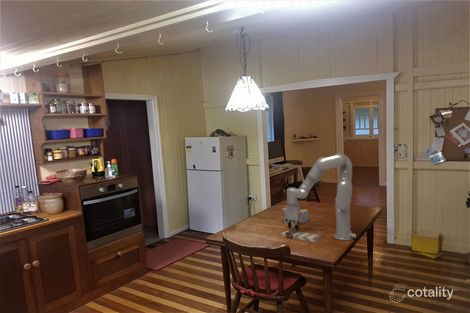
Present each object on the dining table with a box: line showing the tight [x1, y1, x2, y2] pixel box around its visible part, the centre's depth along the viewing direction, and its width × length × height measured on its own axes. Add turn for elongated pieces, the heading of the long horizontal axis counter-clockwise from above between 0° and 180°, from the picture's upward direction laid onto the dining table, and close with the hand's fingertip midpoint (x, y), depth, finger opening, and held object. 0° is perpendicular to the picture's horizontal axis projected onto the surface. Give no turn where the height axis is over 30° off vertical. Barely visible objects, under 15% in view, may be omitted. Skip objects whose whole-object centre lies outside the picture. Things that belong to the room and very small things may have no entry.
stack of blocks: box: [281, 207, 310, 225], centre depth 276 cm, size 21×6×12 cm, turn 101°
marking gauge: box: [286, 220, 301, 239], centre depth 243 cm, size 5×14×10 cm, turn 140°
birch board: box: [281, 229, 322, 243], centre depth 240 cm, size 26×10×2 cm, turn 50°
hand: (293, 228), depth 243 cm, fingers open, 5 cm apart
